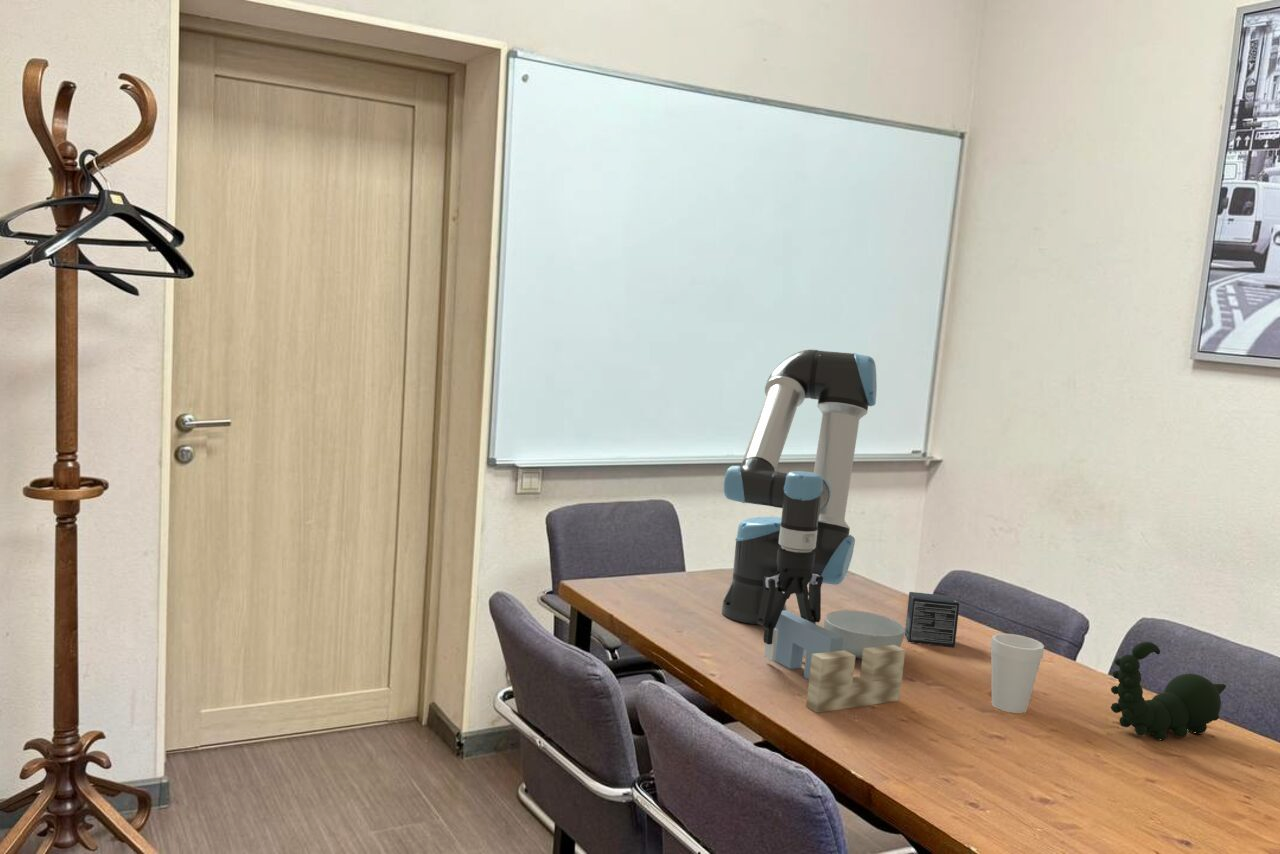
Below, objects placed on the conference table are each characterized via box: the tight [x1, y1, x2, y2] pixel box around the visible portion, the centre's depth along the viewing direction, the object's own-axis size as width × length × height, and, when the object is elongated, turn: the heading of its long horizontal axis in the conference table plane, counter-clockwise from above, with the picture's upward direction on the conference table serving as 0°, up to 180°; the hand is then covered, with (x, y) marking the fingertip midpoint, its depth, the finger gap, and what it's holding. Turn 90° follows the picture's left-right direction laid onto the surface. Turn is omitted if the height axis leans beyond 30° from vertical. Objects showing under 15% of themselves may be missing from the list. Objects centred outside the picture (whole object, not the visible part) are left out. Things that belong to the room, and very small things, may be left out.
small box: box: [904, 591, 961, 648], centre depth 244 cm, size 11×6×10 cm, turn 84°
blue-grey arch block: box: [774, 610, 843, 680], centre depth 214 cm, size 18×3×10 cm, turn 30°
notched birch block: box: [805, 645, 906, 714], centre depth 199 cm, size 20×3×10 cm, turn 120°
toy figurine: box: [1110, 641, 1227, 741], centre depth 198 cm, size 9×19×25 cm
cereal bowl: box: [823, 609, 906, 660], centre depth 230 cm, size 17×17×7 cm
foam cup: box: [989, 633, 1045, 714], centre depth 205 cm, size 10×9×13 cm
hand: (785, 656), depth 220 cm, fingers open, 7 cm apart
